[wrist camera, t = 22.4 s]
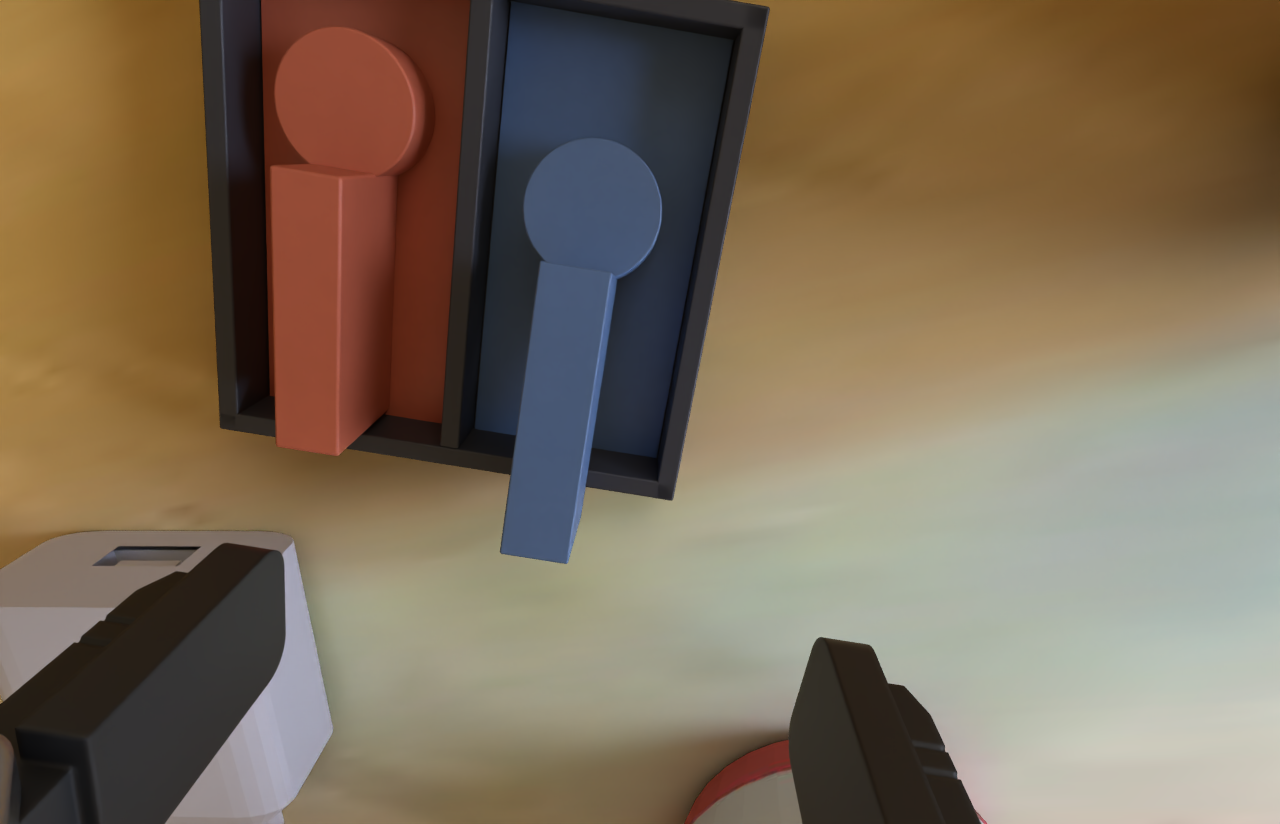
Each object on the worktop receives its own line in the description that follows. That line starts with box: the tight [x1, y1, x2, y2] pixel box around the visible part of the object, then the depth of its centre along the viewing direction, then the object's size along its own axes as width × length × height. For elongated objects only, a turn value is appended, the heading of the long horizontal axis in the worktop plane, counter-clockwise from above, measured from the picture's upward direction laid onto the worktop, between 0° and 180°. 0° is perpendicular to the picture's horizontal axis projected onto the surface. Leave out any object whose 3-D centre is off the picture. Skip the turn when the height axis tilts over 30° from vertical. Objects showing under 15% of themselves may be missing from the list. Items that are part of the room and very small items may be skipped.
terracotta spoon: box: [270, 26, 435, 456], centre depth 20 cm, size 4×11×4 cm, turn 171°
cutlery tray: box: [199, 0, 770, 500], centre depth 21 cm, size 14×14×2 cm
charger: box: [0, 531, 333, 824], centre depth 27 cm, size 5×9×15 cm
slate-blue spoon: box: [500, 137, 662, 564], centre depth 20 cm, size 4×11×4 cm, turn 171°
